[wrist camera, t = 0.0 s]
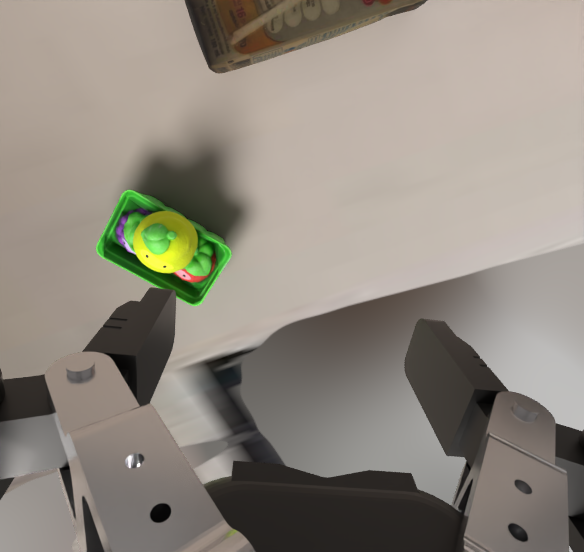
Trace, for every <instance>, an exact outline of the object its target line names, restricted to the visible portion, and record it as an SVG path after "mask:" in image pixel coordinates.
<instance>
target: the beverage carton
mask: <svg viewBox="0 0 584 552" xmlns="http://www.w3.org/2000/svg"><path fill="white" fill-rule="evenodd" d="M426 1H427V0H185V3H186V6H187V9H188V12H189V16H190V19H191V22H192V25H193V28H194V31H195V34H196V36H197V39H198V42H199V45H200V47H201V50H202V52H203V55H204V57H205V60H206V62H207V64H208V67H209V69H211V70H212V71H213V72H215V73H225V72H228V71H232V70H236V69H239V68H242V67H246V66H249V65H252V64H255V63H259V62H262V61H265V60H268V59H271V58H274V57H277V56H279V55H282V54H286V53H288V52H291V51H295V50H298V49H301V48H303V47H307V46H310V45H313V44H316V43H319V42H322V41H325V40H328V39H331V38H334V37H337V36H340V35H342V34H345V33H348V32H350V31H353V30H356V29H358V28H361V27H364V26H366V25H369V24H372V23H374V22H377V21H379V20H381V19H383V18H385V17H388V16H392V15H396V14H399V13H403V12H407V11H411V10H414V9H417V8H418V7H419V6H421V5H422V4H424V3H425V2H426Z"/></svg>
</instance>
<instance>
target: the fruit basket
mask: <svg viewBox="0 0 584 552" xmlns="http://www.w3.org/2000/svg"><path fill="white" fill-rule="evenodd" d="M96 251H97V253H98V254H99V255H100V256H101V257H102V258H104V259H106V260H108V261H110V262H111V263H113V264H115V265H117V266H119V267H121V268H123V269H125V270H127V271H129V272H130V273H132V274H134V275H136V276H138V277H140V278H141V279H143V280H145V281H147V282H149V283H150V284H152V285H154V286H156V287H158V288H161V289H170V290H175V292H176V297H177V298H179V299H180V300H182V301H184V302H186V303H188V304H189V305H192V306H198V305H200V304H201V303H202V302H203V301H204V299H205V297H206V296H207V294H208V292H209V291H210V289H211V288H212V286H213V284H214V283H215V281H216V280H217V278H218V277H219V275H220V274H221V272H222V271H223V269H224V268H225V266H226V265H227V263H228V261H229V260H230V258H231V255H232V253H231V250H230V248H229V247H228V246H227V245H226V244H225V242H224V240H223V239H222V238H221V237H219V236H218V235H216V234H214V233H212V232H209V231H207V230H206V229H205V228H204V227H203V226H201V225H199V224H198V223H196V222H194V221H192V220H189V219H186V217H185V216H184V215H183V214H181V213H179V212H178V211H176V210H174V209H173V208H170V207H166V206H165V205H164V204H163V203H162V202H161V201H159V200H157V199H156V198H154V197H152V196H150V195H145V194H141V193H139V192H137V191H133V190H126V191H125V192H123V194H122V195H121V197H120V199H119V202H118V204H117V205H116V207H115V209H114V211H113V213H112V215H111V217H110V219H109V221H108V224H107V225H106V227H105V230H104V232H103V233H102V235H101V237H100V239H99V241H98V243H97V246H96Z"/></svg>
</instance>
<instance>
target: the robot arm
mask: <svg viewBox="0 0 584 552" xmlns="http://www.w3.org/2000/svg"><path fill="white" fill-rule="evenodd" d="M175 314H176V292H175V290H170V289H161V288H152V287H151V288H149V290H148V291H147V292H146V294H145V295H144V297H143V298H142V300H141V301H140V302H138V301H129V302H127V303H125V304H123V305H122V306H120V307H118V308H117V309H116V310H115V311H114V312H113V314H112V315H111V316H110V317H109V319H108V320H107V321H106V322H105V324H104V325H103V327H101V329H100V330H99V331H98V332H97V334H96V335H95V336H94V338H93V339H92V340H91V341H90V343H89V344H88V345H87V346H86V348H85V349H84V350H83V351H82V352H78V353H73V354H70V355H67V356H64V357H62V358H60V359H58V360H56V361H55V362H53V363H52V364H51V365H50V366H49V367H48V369H47V370H46V372H45V374H44V375H39V376H32V377H23V378H14V379H5V380H3V378H2V372H1V369H0V499H1V498H2V497H3V495H4V493H5V492H6V490H7V489H8V487H9V485H10V484H11V482H12V481H13V479H14V478H15V477H17V476H22V475H27V474H32V473H37V472H42V471H47V470H52V469H57V472H58V475H59V478H60V482H61V485H62V488H63V492H64V495H65V499H66V502H67V505H68V509H69V512H70V515H71V519H72V522H73V526H74V529H75V532H76V536H77V541H78V545H79V550H80V552H569V546H570V547H571V549H572V550H573V552H584V430H583V431H579V430H576V429H573V428H570V427H566V426H563V425H560V424H556V423H555V419H554V417H553V416H552V414H551V413H550V412H549V411H548V410H547V409H546V408H545V407H544V406H542V405H541V404H540V403H538V402H537V401H535V400H533V399H531V398H529V397H527V396H525V395H522V394H519V393H516V392H510V391H508V389H507V388H506V387H505V386H504V385H503V384H502V383H501V381H500V380H499V379H498V378H497V376H495V374H494V373H493V372H492V371H491V369H490V368H489V367H487V365H486V364H485V362H484V361H483V360H482V359H480V356H479V355H478V354H477V353H476V352H475V351H474V349H473V348H472V347H471V346H470V345H468V344H467V343H466V342H464V341H463V340H461V339H460V338H459V337H457V336H456V335H455V334H454V333H453V331H452V330H451V329H450V328H449V327H448V326H447V324H446V323H445V322H444V321H438V320H430V319H420V320H419V321H418V322H417V324H416V326H415V330H414V332H413V335H412V339H411V342H410V345H409V348H408V351H407V354H406V357H405V373H406V376H407V378H408V380H409V382H410V384H411V386H412V388H413V390H414V392H415V394H416V396H417V398H418V400H419V402H420V404H421V406H422V408H423V410H424V412H425V414H426V416H427V418H428V420H429V422H430V424H431V426H432V428H433V430H434V432H435V434H436V436H437V438H438V440H439V442H440V444H441V446H442V448H443V450H444V452H445V454H446V455H447V456H457V457H465V459H466V460H467V461H466V463H465V465H464V467H463V469H462V472H461V475H460V479H459V482H458V485H457V488H456V491H455V495H454V498H453V501H452V504H451V505H449V504H447V503H446V502H444V501H443V500H440V499H439V498H437V497H435V496H433V495H430V494H428V493H426V492H424V491H420V490H418V489H417V487H416V484H415V482H414V479H413V476H412V474H411V473H400V472H385V471H371V470H368V471H363V472H358V473H352V474H347V475H341V476H336V477H330V478H325V477H320V476H317V475H314V474H310V473H306V472H303V471H300V470H297V469H294V468H290V467H287V466H284V465H280V464H271V463H257V462H242V461H233V469H232V476H229V477H224V478H220V479H217V480H214V481H211V482H208V483H206V484H204V485H203V484H202V483H201V481H200V480H199V478H198V476H197V475H196V473H195V472H194V470H193V468H192V467H191V465H190V464H189V462H188V461H187V459H186V457H185V456H184V454H183V452H182V451H181V449H180V448H179V446H178V444H177V443H176V441H175V440H174V438H173V437H172V435H171V433H170V432H169V430H168V429H167V427H166V425H165V424H164V422H163V421H162V419H161V417H160V416H159V414H158V413H157V411H156V409H155V408H154V407H153V406H152V405H151V404H150V401H151V398H152V396H153V394H154V391H155V389H156V387H157V384H158V382H159V380H160V377H161V375H162V373H163V370H164V368H165V366H166V363H167V361H168V358H169V356H170V354H171V351H172V348H173V343H174V337H175Z"/></svg>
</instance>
